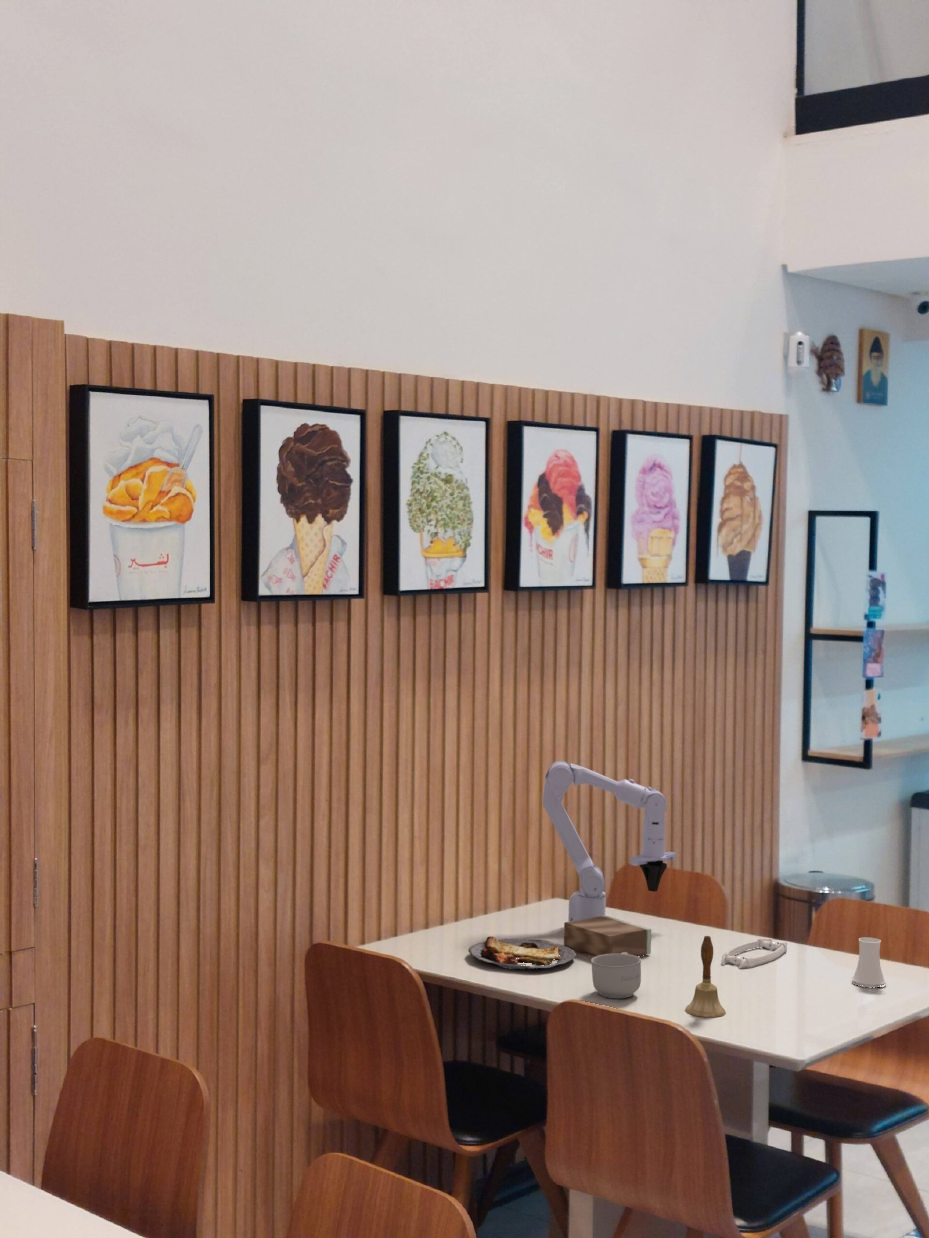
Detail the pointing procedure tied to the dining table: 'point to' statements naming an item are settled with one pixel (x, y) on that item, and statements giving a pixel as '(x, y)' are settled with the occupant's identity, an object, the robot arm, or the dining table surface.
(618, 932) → the brown wooden block
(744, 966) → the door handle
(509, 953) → the food plate
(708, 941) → the hand bell
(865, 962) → the cooling tower model
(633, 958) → the teacup
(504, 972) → the dining table surface
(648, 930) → the cabinet door
